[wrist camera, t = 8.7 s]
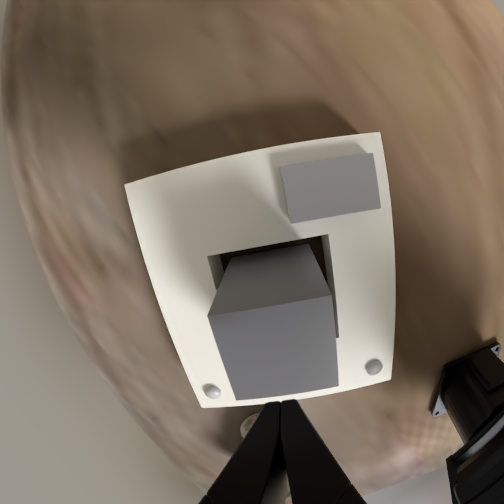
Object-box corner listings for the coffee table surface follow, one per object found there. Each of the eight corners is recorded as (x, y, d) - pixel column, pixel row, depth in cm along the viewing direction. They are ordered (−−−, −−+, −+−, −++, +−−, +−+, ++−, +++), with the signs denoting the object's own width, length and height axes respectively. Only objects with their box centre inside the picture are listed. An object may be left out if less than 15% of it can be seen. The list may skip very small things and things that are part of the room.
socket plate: (379, 356, 17) (394, 386, 14) (208, 383, 19) (199, 415, 16) (363, 136, 13) (385, 130, 10) (145, 181, 15) (117, 185, 12)
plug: (315, 304, 16) (338, 386, 10) (248, 315, 17) (236, 400, 10) (306, 238, 15) (332, 295, 9) (233, 252, 16) (207, 315, 9)
